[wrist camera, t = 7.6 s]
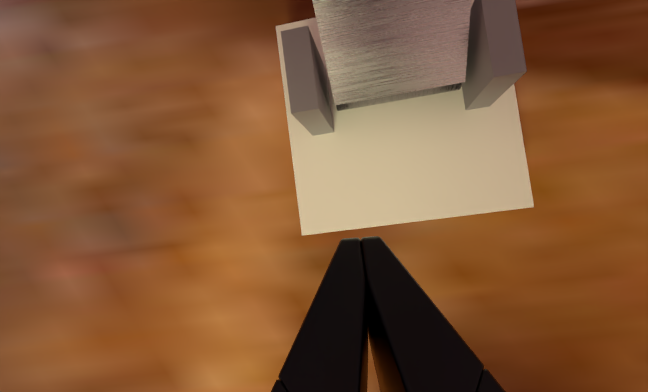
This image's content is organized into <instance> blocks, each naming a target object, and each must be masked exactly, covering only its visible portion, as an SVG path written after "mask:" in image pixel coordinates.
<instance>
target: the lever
mask: <svg viewBox="0 0 648 392" xmlns="http://www.w3.org/2000/svg"><path fill="white" fill-rule="evenodd" d="M312 1H313V6H314V10H315V15H316V20H317V24H318V29H319V34H320V38H321V43H322V48H323V52H324V57H325V62H326V66H327V71H328V76H329V80H330V85H331V90H332V94H333V99H334V104H335V105H336V108H337V111H342V110H348V109H353V108H359V107H365V106H370V105H376V104H382V103H387V102H393V101H399V100H405V99H410V98H416V97H422V96H427V95H433V94H439V93H444V92H450V91H456V90H460V88H461V86H462V83H463V82H465V78H466V65H467V51H468V37H469V24H470V10H471V0H312Z"/></svg>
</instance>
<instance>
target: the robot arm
mask: <svg viewBox="0 0 648 392" xmlns="http://www.w3.org/2000/svg"><path fill="white" fill-rule="evenodd" d="M368 334H369V341H370V346H371V351H372V356H373V360H374V365H375V369H376V373H377V378H378V382H379V387H380V391H381V392H505V391H504V389H503V388H502V387H501V386H500V384H499V383H498V382H497V381H496V379H495V378H494V377H493V376H492V374H491V373H490V372H489V371H488V370H487V369H484V365H483V364H482V362H481V361H480V360H479V359H478V357H477V356H476V355H475V354H474V352H473V351H472V350H471V349H470V348H469V346H468V345H467V344H466V343H465V341H464V340H463V339H462V338H461V336H460V335H459V334H458V333H457V331H456V330H455V329H454V328H453V326H452V325H451V324H450V323H449V322H448V320H447V319H446V318H445V317H444V315H443V314H442V313H441V312H440V310H439V309H438V308H437V307H436V305H435V304H434V303H433V302H432V300H431V299H430V298H429V297H428V295H427V294H426V293H425V292H424V291H423V289H422V288H421V287H420V286H419V284H418V283H417V282H416V281H415V279H414V278H413V277H412V276H411V274H410V273H409V272H408V271H407V269H406V268H405V267H404V266H403V265H402V263H401V262H400V261H399V260H398V258H397V257H396V256H395V255H394V253H393V252H392V251H391V250H390V248H389V247H388V246H387V245H386V243H385V242H384V241H383V240H382V239H381V238H380V237H378V236H374V237H363V238H362V239H361V241H360V239H359V238H345V239H342V240H341V241H340V242H339V245H338V247H337V249H336V251H335V253H334V256H333V258H332V260H331V262H330V264H329V266H328V269H327V271H326V273H325V275H324V277H323V280H322V282H321V284H320V286H319V288H318V291H317V293H316V295H315V297H314V299H313V301H312V304H311V306H310V308H309V310H308V312H307V315H306V317H305V319H304V321H303V323H302V325H301V328H300V330H299V332H298V334H297V336H296V339H295V341H294V343H293V345H292V347H291V350H290V352H289V354H288V356H287V358H286V360H285V363H284V365H283V367H282V369H281V371H280V374H279V380H276V382H275V384H274V386H273V388H272V391H271V392H367V378H368ZM483 369H484V370H483Z"/></svg>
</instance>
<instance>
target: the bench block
mask: <svg viewBox="0 0 648 392" xmlns="http://www.w3.org/2000/svg"><path fill="white" fill-rule="evenodd" d="M276 33H277V41H278V49H279V57H280V65H281V73H282V80H283V88H284V96H285V104H286V112H287V120H288V128H289V136H290V144H291V152H292V160H293V168H294V176H295V183H296V191H297V199H298V207H299V215H300V223H301V231H302V235H310V234H318V233H326V232H334V231H342V230H351V229H359V228H367V227H375V226H383V225H391V224H400V223H408V222H416V221H424V220H432V219H440V218H449V217H457V216H465V215H473V214H481V213H489V212H498V211H506V210H514V209H522V208H530V207H534V204H533V198H532V191H531V185H530V179H529V173H528V167H527V160H526V154H525V148H524V142H523V136H522V129H521V123H520V117H519V111H518V105H517V99H516V92H515V86H514V83H515V82H516V81H517V80H518V79H519V78H520V77H521V76H522V75H524V74H525V73H526V72H527V70H526V64H525V58H524V52H523V45H522V39H521V33H520V27H519V21H518V15H517V9H516V3H515V0H471V10H470V24H469V37H468V51H467V65H466V78H465V82H463V83H462V86H461V88H460V90H456V91H450V92H444V93H439V94H433V95H427V96H422V97H416V98H410V99H405V100H399V101H393V102H387V103H382V104H376V105H370V106H365V107H359V108H353V109H348V110H342V111H337V108H336V105H335V104H334V99H333V94H332V90H331V85H330V80H329V76H328V71H327V66H326V62H325V57H324V52H323V48H322V43H321V38H320V34H319V29H318V24H317V20H316V17H315V18H311V19H306V20H302V21H297V22H293V23H288V24H284V25H279V26H276Z"/></svg>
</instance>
